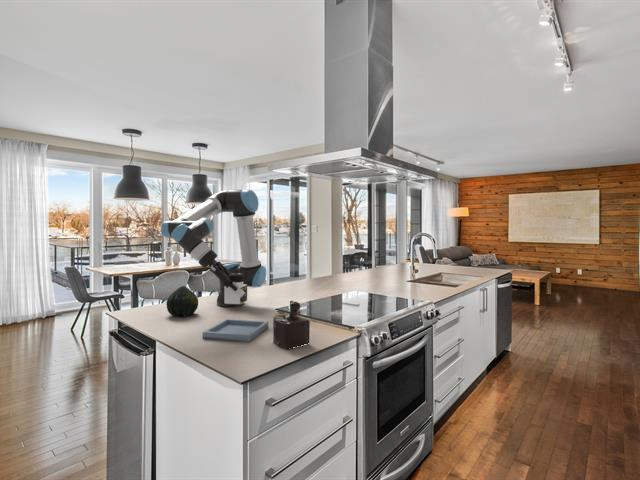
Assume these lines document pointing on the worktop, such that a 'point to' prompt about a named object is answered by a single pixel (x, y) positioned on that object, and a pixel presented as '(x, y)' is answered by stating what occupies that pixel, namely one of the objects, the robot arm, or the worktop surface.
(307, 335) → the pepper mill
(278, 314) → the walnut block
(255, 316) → the worktop surface
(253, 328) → the tray
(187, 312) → the squash
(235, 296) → the medicine bottle
